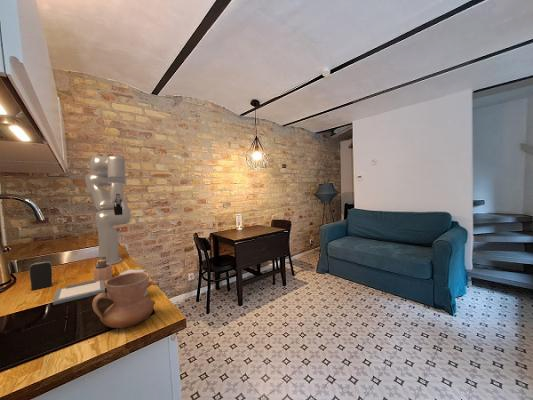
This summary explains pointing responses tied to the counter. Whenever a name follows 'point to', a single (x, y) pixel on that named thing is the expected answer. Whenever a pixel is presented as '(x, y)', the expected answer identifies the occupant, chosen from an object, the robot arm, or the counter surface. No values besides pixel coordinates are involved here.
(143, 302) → the ceramic jug
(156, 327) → the counter surface
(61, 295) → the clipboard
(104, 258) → the marker
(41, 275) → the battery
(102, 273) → the pen cup
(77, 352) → the counter surface
